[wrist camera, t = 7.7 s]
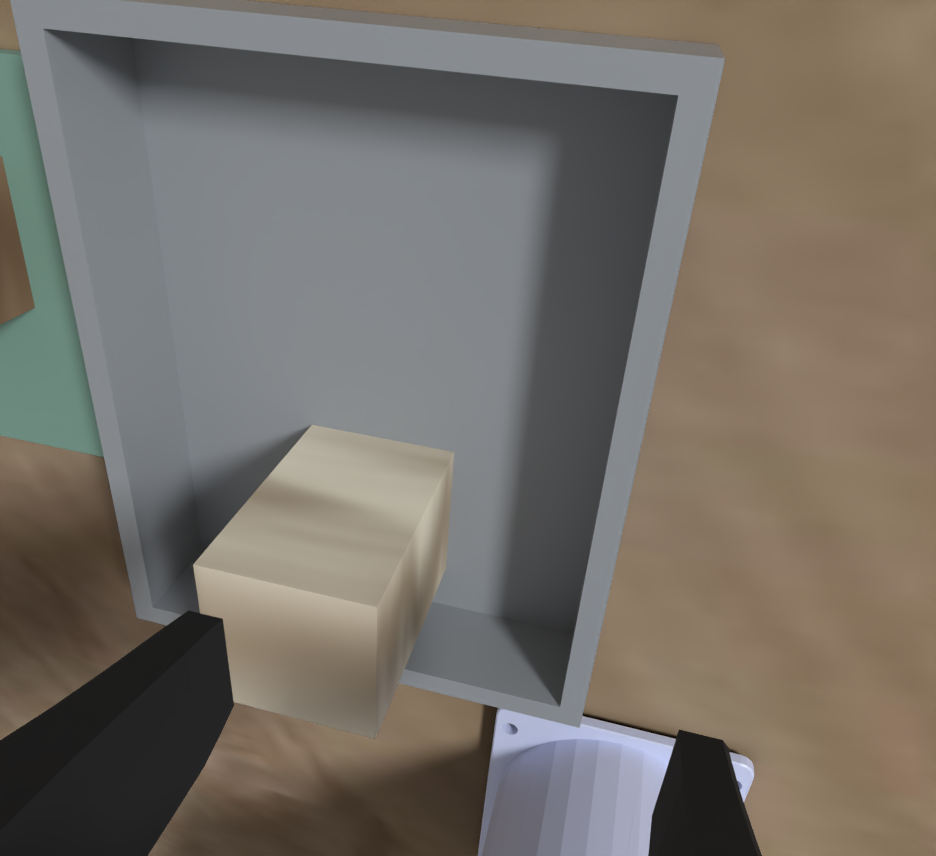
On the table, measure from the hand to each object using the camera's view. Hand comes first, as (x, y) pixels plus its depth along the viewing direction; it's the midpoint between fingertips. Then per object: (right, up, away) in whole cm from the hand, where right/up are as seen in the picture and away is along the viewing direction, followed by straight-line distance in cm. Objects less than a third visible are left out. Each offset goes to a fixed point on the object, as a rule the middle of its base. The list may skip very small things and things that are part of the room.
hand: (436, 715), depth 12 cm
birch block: (-2, +2, +10) cm, 10 cm away
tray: (-2, +6, +8) cm, 10 cm away
